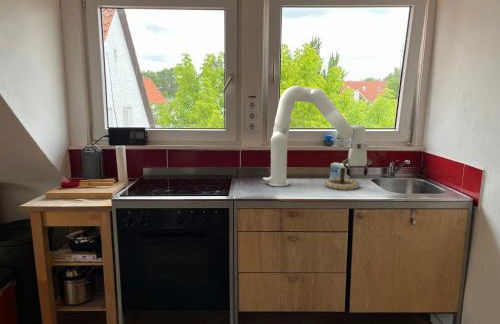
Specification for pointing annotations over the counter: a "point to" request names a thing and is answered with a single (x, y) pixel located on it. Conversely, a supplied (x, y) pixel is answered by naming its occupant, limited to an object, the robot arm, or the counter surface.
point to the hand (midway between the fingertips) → (356, 175)
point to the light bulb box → (337, 170)
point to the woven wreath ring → (349, 186)
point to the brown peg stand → (342, 176)
